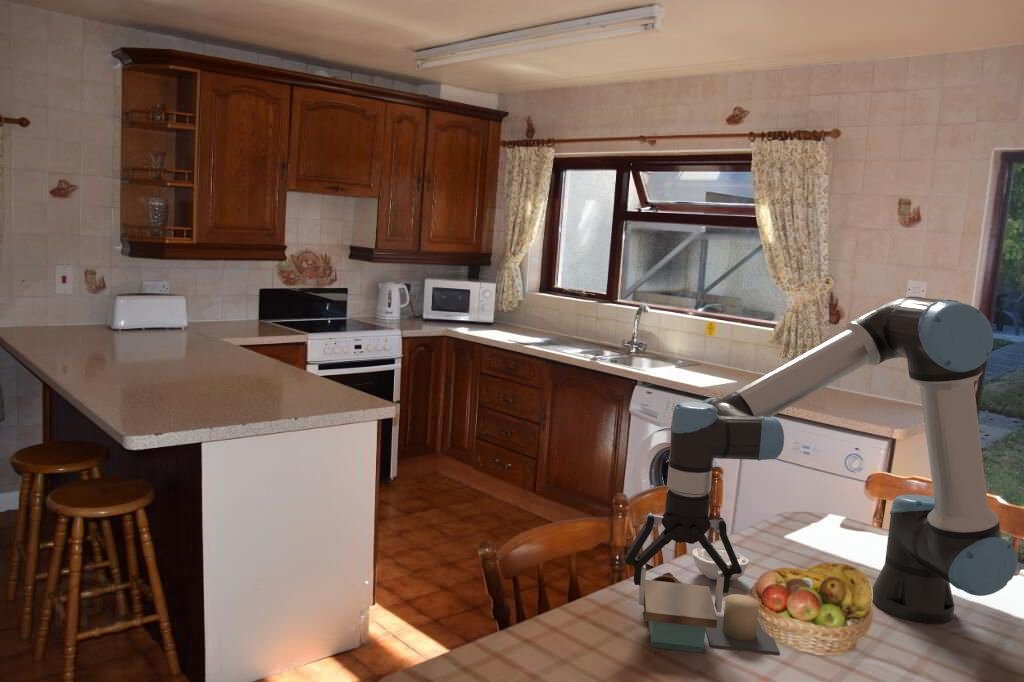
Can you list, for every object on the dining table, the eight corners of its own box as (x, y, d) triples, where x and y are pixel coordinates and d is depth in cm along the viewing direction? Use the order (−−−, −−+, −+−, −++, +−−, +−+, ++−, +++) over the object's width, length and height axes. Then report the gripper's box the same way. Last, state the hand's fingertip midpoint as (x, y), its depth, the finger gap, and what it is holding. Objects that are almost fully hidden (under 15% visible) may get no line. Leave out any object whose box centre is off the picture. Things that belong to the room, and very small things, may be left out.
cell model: (746, 592, 168) (749, 561, 167) (687, 581, 172) (690, 550, 171) (748, 574, 177) (751, 544, 176) (692, 564, 181) (695, 535, 180)
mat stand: (765, 623, 154) (769, 591, 153) (779, 654, 142) (783, 619, 141) (701, 616, 155) (704, 584, 154) (710, 646, 143) (713, 612, 143)
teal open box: (697, 628, 150) (699, 600, 149) (703, 652, 141) (706, 622, 140) (647, 623, 151) (650, 595, 150) (650, 646, 142) (653, 617, 141)
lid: (708, 594, 150) (709, 586, 150) (716, 628, 139) (717, 619, 138) (642, 587, 152) (643, 579, 151) (645, 620, 140) (646, 611, 140)
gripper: (756, 489, 145) (746, 602, 148) (616, 478, 148) (608, 590, 150) (765, 503, 138) (754, 621, 140) (617, 491, 140) (609, 607, 143)
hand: (679, 605), depth 145 cm, fingers open, 13 cm apart
